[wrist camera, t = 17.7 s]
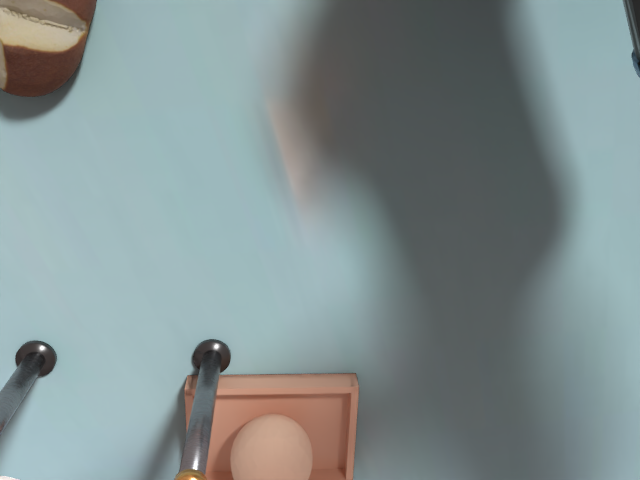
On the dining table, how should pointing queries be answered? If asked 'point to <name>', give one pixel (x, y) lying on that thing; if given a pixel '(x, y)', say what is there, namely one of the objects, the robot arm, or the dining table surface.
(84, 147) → the dining table surface
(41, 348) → the pole
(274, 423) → the egg
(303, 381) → the tray
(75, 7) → the bread
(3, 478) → the wineglass
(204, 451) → the pole corner
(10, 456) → the dining table surface
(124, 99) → the dining table surface
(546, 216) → the dining table surface
